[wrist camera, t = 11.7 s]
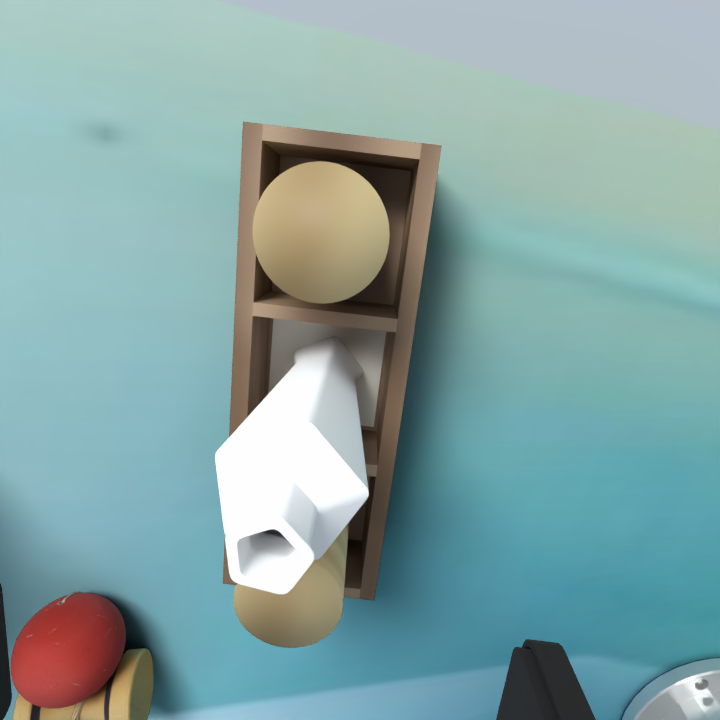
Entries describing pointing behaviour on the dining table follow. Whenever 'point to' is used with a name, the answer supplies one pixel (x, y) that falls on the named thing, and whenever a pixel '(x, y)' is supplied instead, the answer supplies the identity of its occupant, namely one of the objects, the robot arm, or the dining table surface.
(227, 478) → the white faceted vase
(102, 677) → the kendama
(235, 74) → the dining table surface
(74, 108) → the dining table surface
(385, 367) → the wooden condiment caddy
